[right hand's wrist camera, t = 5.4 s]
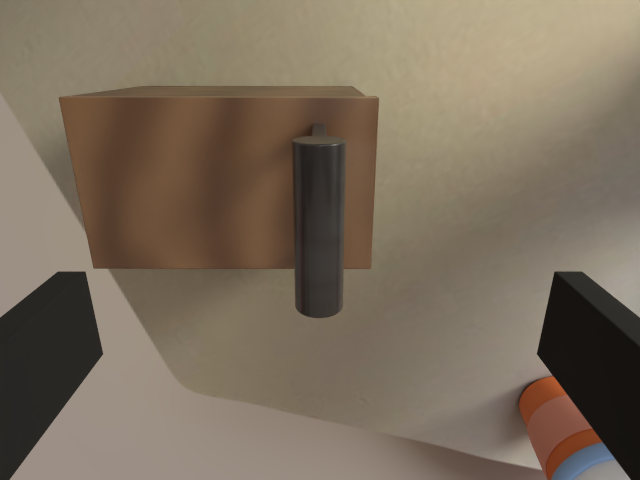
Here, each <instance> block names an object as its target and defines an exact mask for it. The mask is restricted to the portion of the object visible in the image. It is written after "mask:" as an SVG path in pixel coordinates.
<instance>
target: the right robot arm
mask: <svg viewBox="0 0 640 480" xmlns="http://www.w3.org/2000/svg"><path fill="white" fill-rule="evenodd" d="M102 355H103V352H102V347H101V342H100V338H99V333H98V328H97V324H96V319H95V314H94V310H93V305H92V300H91V296H90V291H89V286H88V282H87V277H86V273H85V272H57V273H56V274H54V275H53V276H52V277H51V278H49V279H48V280H47V281H46V282H44V283H43V284H42V285H41V286H39V287H38V288H37V289H36V290H34V291H33V292H32V293H31V294H29V295H28V296H27V297H26V298H24V299H23V300H22V301H21V302H19V303H18V304H17V305H16V306H14V307H13V308H12V309H11V310H9V311H8V312H7V313H6V314H4V315H3V316H2V317H1V318H0V480H10V478H11V477H12V475H13V474H14V473H15V471H16V470H17V469H18V467H19V466H20V465H21V463H22V462H23V461H24V459H25V458H26V457H27V455H28V454H29V453H30V451H31V450H32V449H33V447H34V446H35V445H36V443H37V442H38V441H39V439H40V438H41V437H42V435H43V434H44V433H45V431H46V430H47V429H48V427H49V426H50V425H51V423H52V422H53V420H54V419H55V418H56V416H57V415H58V414H59V412H60V411H61V410H62V408H63V407H64V406H65V404H66V403H67V402H68V400H69V399H70V398H71V396H72V395H73V394H74V392H75V391H76V390H77V388H78V387H79V386H80V384H81V383H82V382H83V380H84V379H85V378H86V376H87V375H88V374H89V372H90V371H91V369H92V368H93V367H94V365H95V364H96V363H97V361H98V360H99V359H100V357H101V356H102ZM537 355H538V356H539V357H540V359H541V360H542V361H543V363H544V364H545V365H546V367H547V368H548V369H549V371H550V372H551V374H552V375H553V376H554V378H555V379H556V380H557V382H558V383H559V384H560V386H561V387H562V388H563V390H564V391H565V392H566V394H567V395H568V396H569V398H570V399H571V400H572V402H573V403H574V404H575V406H576V407H577V408H578V410H579V411H580V412H581V414H582V415H583V416H584V418H585V419H586V421H587V422H588V423H589V425H590V426H591V427H592V429H593V430H594V431H595V433H596V434H597V435H598V437H599V438H600V439H601V441H602V442H603V443H604V445H605V446H606V447H607V449H608V450H609V451H610V453H611V454H612V455H613V457H614V458H615V459H616V461H617V462H618V463H619V465H620V466H621V467H622V469H623V470H624V472H625V473H626V474H627V476H628V477H629V478H630V480H640V318H639V317H638V316H637V315H636V314H634V313H633V312H632V311H631V310H629V309H628V308H627V307H626V306H624V305H623V304H622V303H621V302H619V301H618V300H617V299H616V298H614V297H613V296H612V295H611V294H609V293H608V292H607V291H606V290H604V289H603V288H602V287H601V286H599V285H598V284H597V283H596V282H594V281H593V280H592V279H591V278H589V277H588V276H587V275H586V274H584V273H583V272H554V277H553V282H552V286H551V291H550V296H549V300H548V305H547V310H546V314H545V319H544V324H543V328H542V333H541V338H540V342H539V347H538V352H537Z"/></svg>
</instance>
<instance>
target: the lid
mask: <svg viewBox="0 0 640 480" xmlns="http://www.w3.org/2000/svg"><path fill="white" fill-rule="evenodd" d="M59 102H60V106H61V111H62V116H63V121H64V126H65V131H66V136H67V141H68V146H69V150H70V155H71V160H72V165H73V170H74V175H75V180H76V185H77V190H78V194H79V199H80V204H81V209H82V214H83V219H84V224H85V229H86V234H87V238H88V243H89V248H90V253H91V258H92V263H93V268H142V269H295V307H296V309H297V311H298V312H300V313H301V314H303V315H305V316H308V317H313V318H325V317H330V316H333V315H335V314H337V313H339V312H340V311H341V309H342V307H343V271H344V269H371V253H372V232H373V211H374V190H375V169H376V149H377V128H378V107H379V98H378V97H376V96H65V97H59Z"/></svg>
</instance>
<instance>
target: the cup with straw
mask: <svg viewBox="0 0 640 480" xmlns="http://www.w3.org/2000/svg"><path fill="white" fill-rule="evenodd" d="M519 409H520V412H521V415H522V417H523V420H524V422H525V424H526V427H527V429H528V436H529V439H530V441H531V444H532V446H533V448H534V451H535V453H536V455H537V458H538V460H539V462H540V465H541V467H542V469H543V472H544V474H545V476H546V478H547V480H630V478H629V477H628V476H627V474H626V473H625V472H624V470H623V469H622V467H621V466H620V465H619V463H618V462H617V461H616V459H615V458H614V457H613V455H612V454H611V453H610V451H609V450H608V449H607V447H606V446H605V445H604V443H603V442H602V441H601V439H600V438H599V437H598V435H597V434H596V433H595V431H594V430H593V429H592V427H591V426H590V425H589V423H588V422H587V421H586V419H585V418H584V416H583V415H582V414H581V412H580V411H579V410H578V408H577V407H576V406H575V404H574V403H573V402H572V400H571V399H570V398H569V396H568V395H567V394H566V392H565V391H564V390H563V388H562V387H561V386H560V384H559V383H558V382H557V380H556V379H555V378H554V377H547V378H543V379H540V380H538V381H536V382H534V383H533V384H531V385H530V386H529V387H528V388H527V389H526V390H525V391H524V392H523V394H522V396H521V398H520V402H519Z"/></svg>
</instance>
